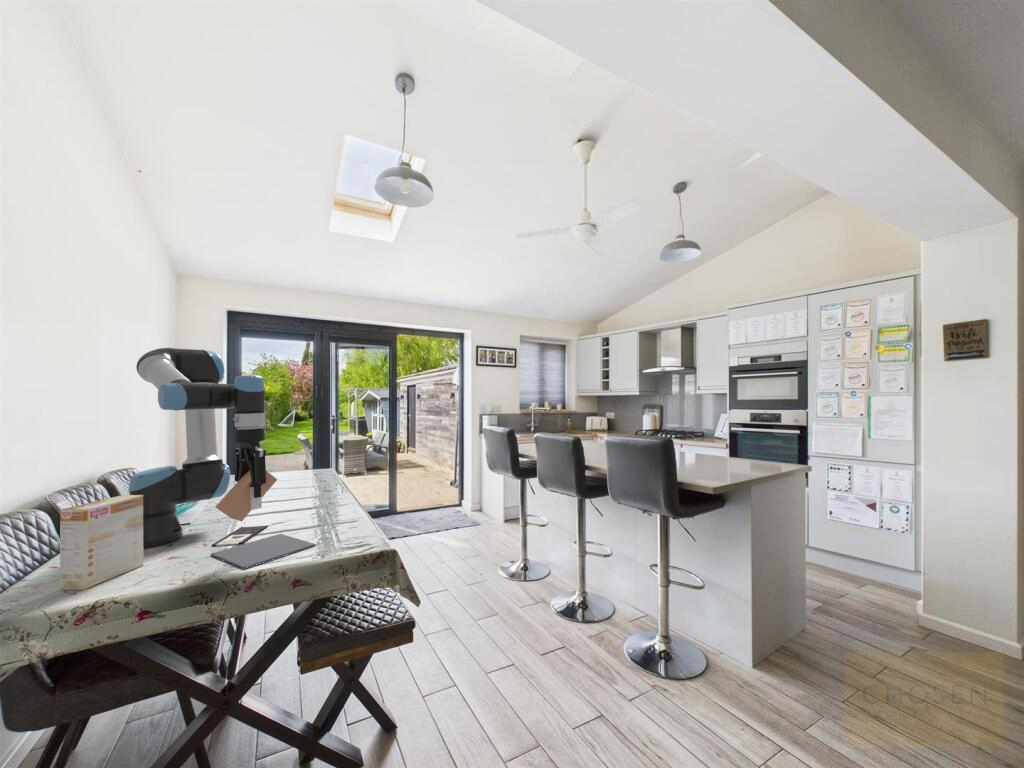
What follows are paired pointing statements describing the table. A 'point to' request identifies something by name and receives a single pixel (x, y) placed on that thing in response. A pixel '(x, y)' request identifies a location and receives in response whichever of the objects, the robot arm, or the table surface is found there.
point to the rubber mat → (262, 550)
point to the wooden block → (242, 497)
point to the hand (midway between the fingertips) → (250, 507)
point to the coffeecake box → (100, 541)
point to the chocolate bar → (240, 536)
